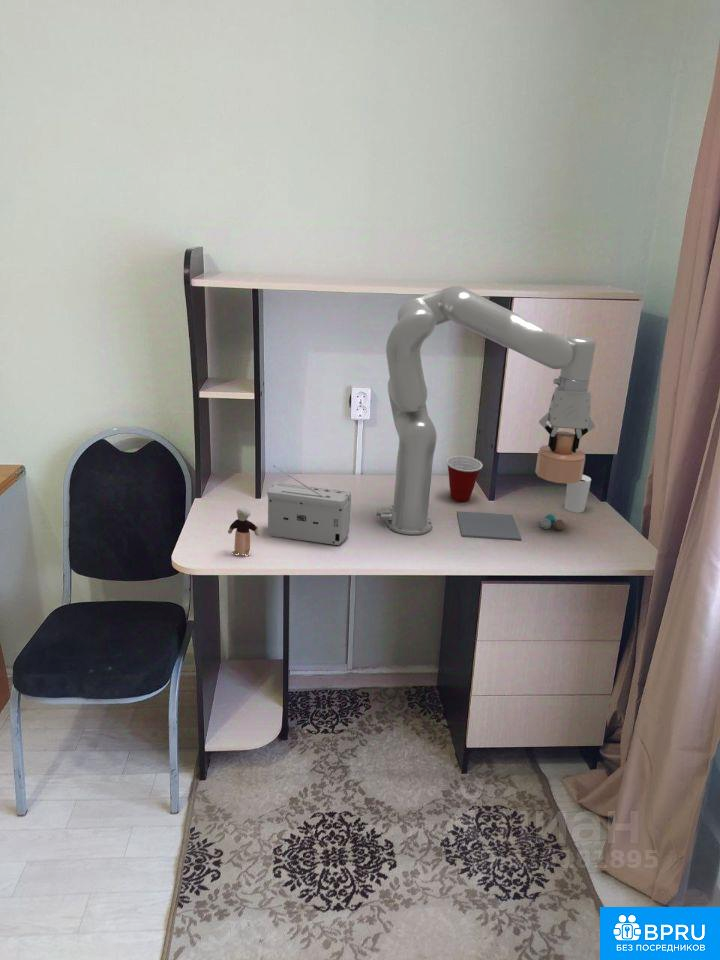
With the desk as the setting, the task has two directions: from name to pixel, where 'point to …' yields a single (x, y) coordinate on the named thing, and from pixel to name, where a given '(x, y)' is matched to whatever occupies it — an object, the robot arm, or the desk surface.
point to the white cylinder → (577, 495)
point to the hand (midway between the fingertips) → (562, 449)
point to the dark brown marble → (559, 524)
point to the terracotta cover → (561, 461)
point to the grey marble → (545, 523)
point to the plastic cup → (462, 476)
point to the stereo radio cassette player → (308, 512)
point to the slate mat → (488, 525)
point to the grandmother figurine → (242, 531)
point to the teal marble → (551, 518)
